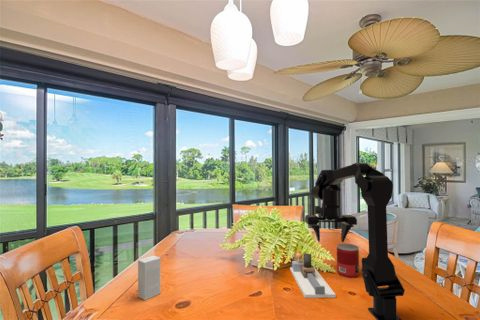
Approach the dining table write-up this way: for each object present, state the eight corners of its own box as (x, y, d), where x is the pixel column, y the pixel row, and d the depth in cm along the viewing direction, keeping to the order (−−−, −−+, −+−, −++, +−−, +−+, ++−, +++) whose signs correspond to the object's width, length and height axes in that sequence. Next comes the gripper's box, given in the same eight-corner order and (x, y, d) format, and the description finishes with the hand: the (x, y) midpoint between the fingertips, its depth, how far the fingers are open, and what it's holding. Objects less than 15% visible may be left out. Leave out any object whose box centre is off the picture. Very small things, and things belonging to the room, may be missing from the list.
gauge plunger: (302, 259, 104) (302, 254, 104) (296, 259, 104) (296, 254, 104) (301, 257, 106) (301, 252, 106) (295, 257, 106) (295, 252, 106)
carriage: (315, 277, 98) (315, 256, 98) (303, 277, 97) (303, 257, 98) (311, 271, 103) (311, 252, 103) (300, 271, 102) (300, 252, 103)
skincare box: (153, 289, 90) (154, 254, 90) (160, 293, 87) (161, 257, 88) (137, 296, 85) (137, 259, 86) (144, 301, 83) (144, 262, 83)
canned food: (361, 279, 99) (360, 249, 99) (338, 277, 101) (338, 248, 101) (356, 271, 107) (356, 243, 107) (335, 269, 108) (335, 242, 109)
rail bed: (335, 297, 85) (335, 285, 85) (304, 297, 85) (304, 285, 85) (314, 269, 108) (314, 259, 108) (290, 269, 108) (290, 259, 108)
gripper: (345, 199, 111) (346, 236, 110) (301, 199, 111) (301, 236, 110) (357, 202, 99) (358, 244, 99) (308, 202, 100) (308, 244, 99)
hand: (330, 241), depth 102 cm, fingers open, 9 cm apart
